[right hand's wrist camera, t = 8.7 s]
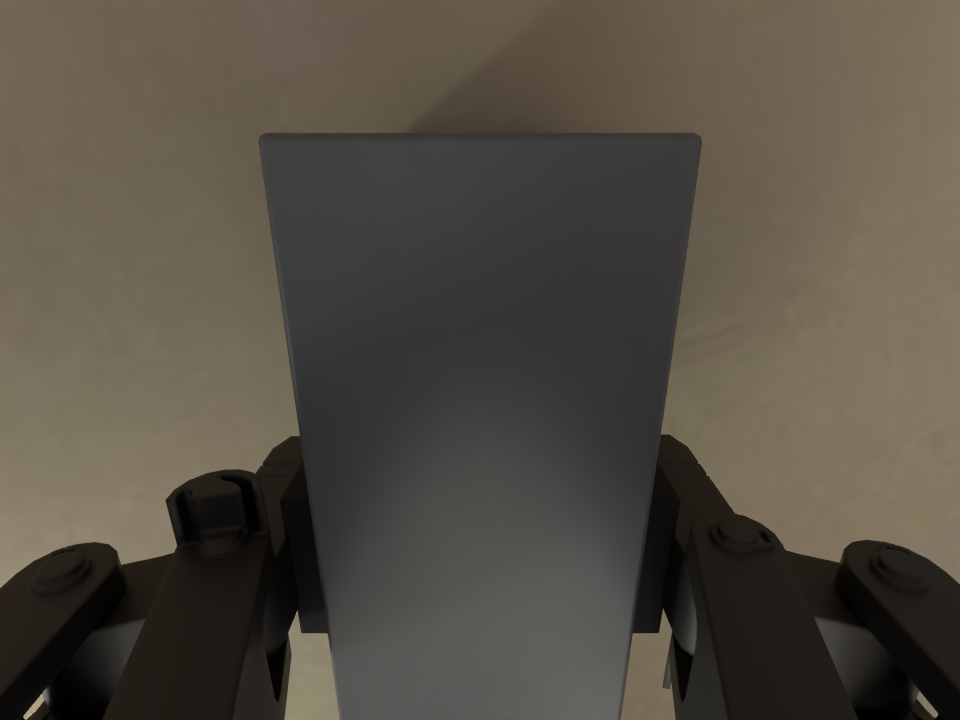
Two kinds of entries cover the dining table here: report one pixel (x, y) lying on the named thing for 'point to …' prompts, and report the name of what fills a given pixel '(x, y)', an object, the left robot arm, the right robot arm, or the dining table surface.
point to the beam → (480, 404)
